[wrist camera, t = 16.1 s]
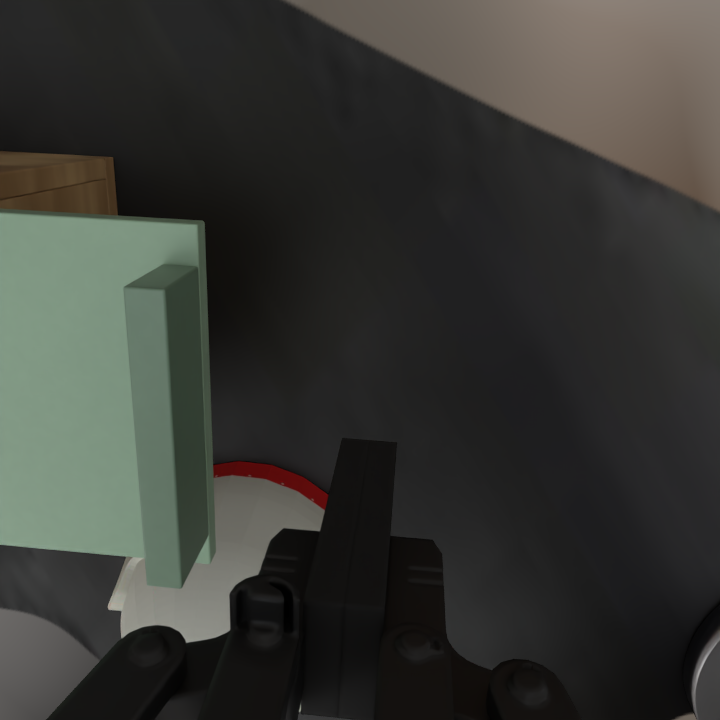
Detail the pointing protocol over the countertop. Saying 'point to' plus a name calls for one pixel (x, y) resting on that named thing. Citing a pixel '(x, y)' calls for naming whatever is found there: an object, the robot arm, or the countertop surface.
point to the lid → (106, 389)
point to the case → (57, 183)
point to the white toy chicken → (222, 551)
